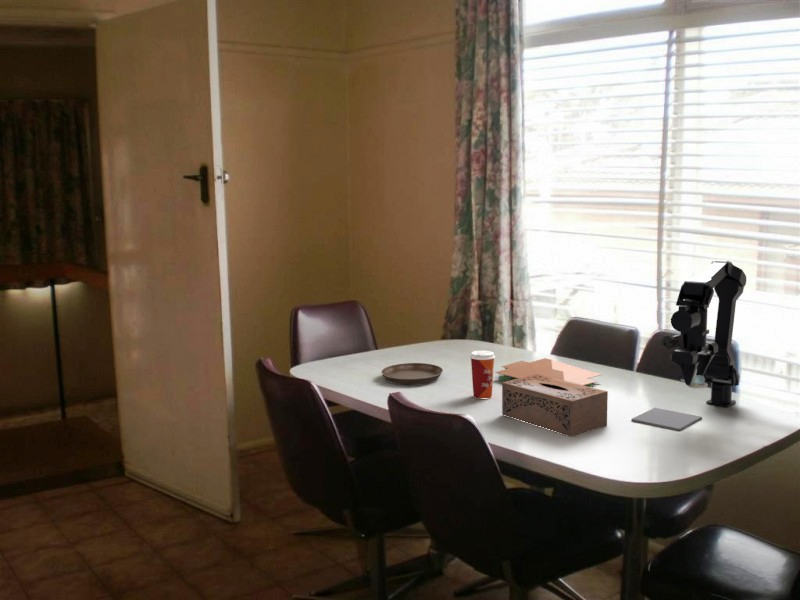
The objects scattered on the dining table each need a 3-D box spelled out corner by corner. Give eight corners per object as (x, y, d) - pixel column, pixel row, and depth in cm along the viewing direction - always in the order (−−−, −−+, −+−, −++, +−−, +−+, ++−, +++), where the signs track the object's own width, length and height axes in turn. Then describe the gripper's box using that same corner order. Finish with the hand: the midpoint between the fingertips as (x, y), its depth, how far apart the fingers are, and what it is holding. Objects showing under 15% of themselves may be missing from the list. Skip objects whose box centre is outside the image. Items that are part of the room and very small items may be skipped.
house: (536, 369, 298) (536, 346, 297) (612, 387, 272) (613, 362, 271) (489, 380, 284) (489, 356, 283) (565, 400, 258) (565, 374, 257)
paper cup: (490, 401, 257) (490, 356, 255) (466, 398, 261) (466, 354, 258) (498, 394, 264) (498, 350, 262) (475, 392, 268) (475, 349, 265)
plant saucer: (422, 390, 272) (421, 380, 272) (369, 382, 284) (369, 373, 283) (454, 376, 289) (454, 367, 289) (403, 369, 300) (403, 360, 300)
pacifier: (713, 387, 231) (694, 382, 236) (714, 364, 230) (695, 360, 235) (695, 391, 227) (677, 386, 232) (697, 368, 226) (678, 363, 231)
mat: (654, 409, 245) (654, 407, 245) (701, 418, 236) (701, 416, 236) (631, 420, 235) (631, 418, 235) (679, 430, 226) (679, 428, 226)
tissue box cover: (502, 416, 243) (502, 382, 241) (536, 406, 252) (537, 374, 250) (571, 438, 223) (572, 401, 221) (606, 426, 232) (607, 391, 230)
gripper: (680, 318, 242) (678, 371, 244) (652, 328, 228) (650, 384, 230) (719, 322, 234) (717, 377, 237) (693, 332, 221) (691, 391, 223)
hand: (693, 382), depth 232 cm, fingers closed on pacifier, 7 cm apart
